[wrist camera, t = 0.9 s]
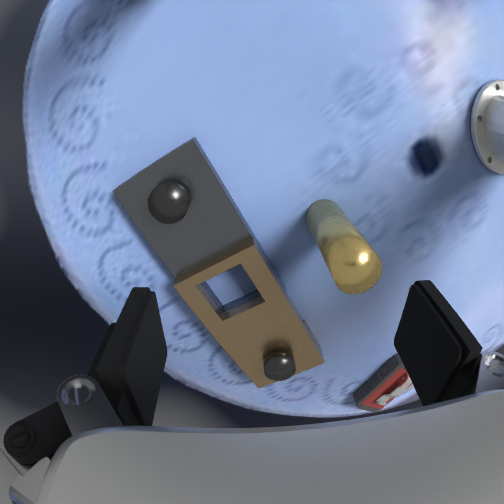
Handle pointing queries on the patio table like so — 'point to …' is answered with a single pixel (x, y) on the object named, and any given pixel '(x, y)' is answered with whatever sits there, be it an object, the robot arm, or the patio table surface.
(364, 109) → the patio table surface
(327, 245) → the pin
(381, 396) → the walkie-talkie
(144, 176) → the peg insertion board
